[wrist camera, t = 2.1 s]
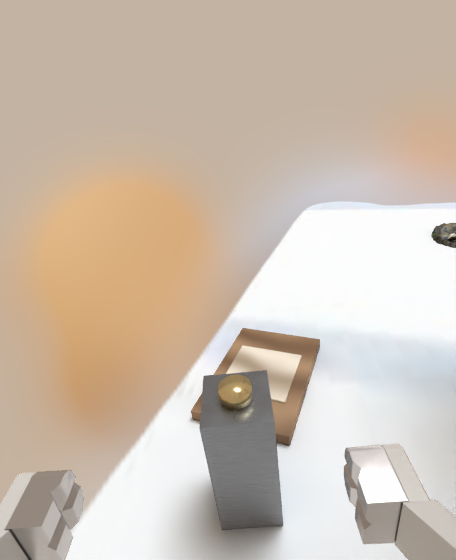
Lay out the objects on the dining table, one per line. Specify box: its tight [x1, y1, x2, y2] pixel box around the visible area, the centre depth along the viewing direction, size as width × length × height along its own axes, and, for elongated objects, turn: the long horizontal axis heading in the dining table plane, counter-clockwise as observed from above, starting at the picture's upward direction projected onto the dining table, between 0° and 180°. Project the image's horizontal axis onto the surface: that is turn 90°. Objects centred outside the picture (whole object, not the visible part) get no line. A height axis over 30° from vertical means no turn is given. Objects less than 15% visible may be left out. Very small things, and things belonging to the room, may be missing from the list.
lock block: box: [200, 370, 283, 530], centre depth 28 cm, size 5×5×13 cm
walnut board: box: [191, 328, 320, 445], centre depth 44 cm, size 16×11×1 cm
